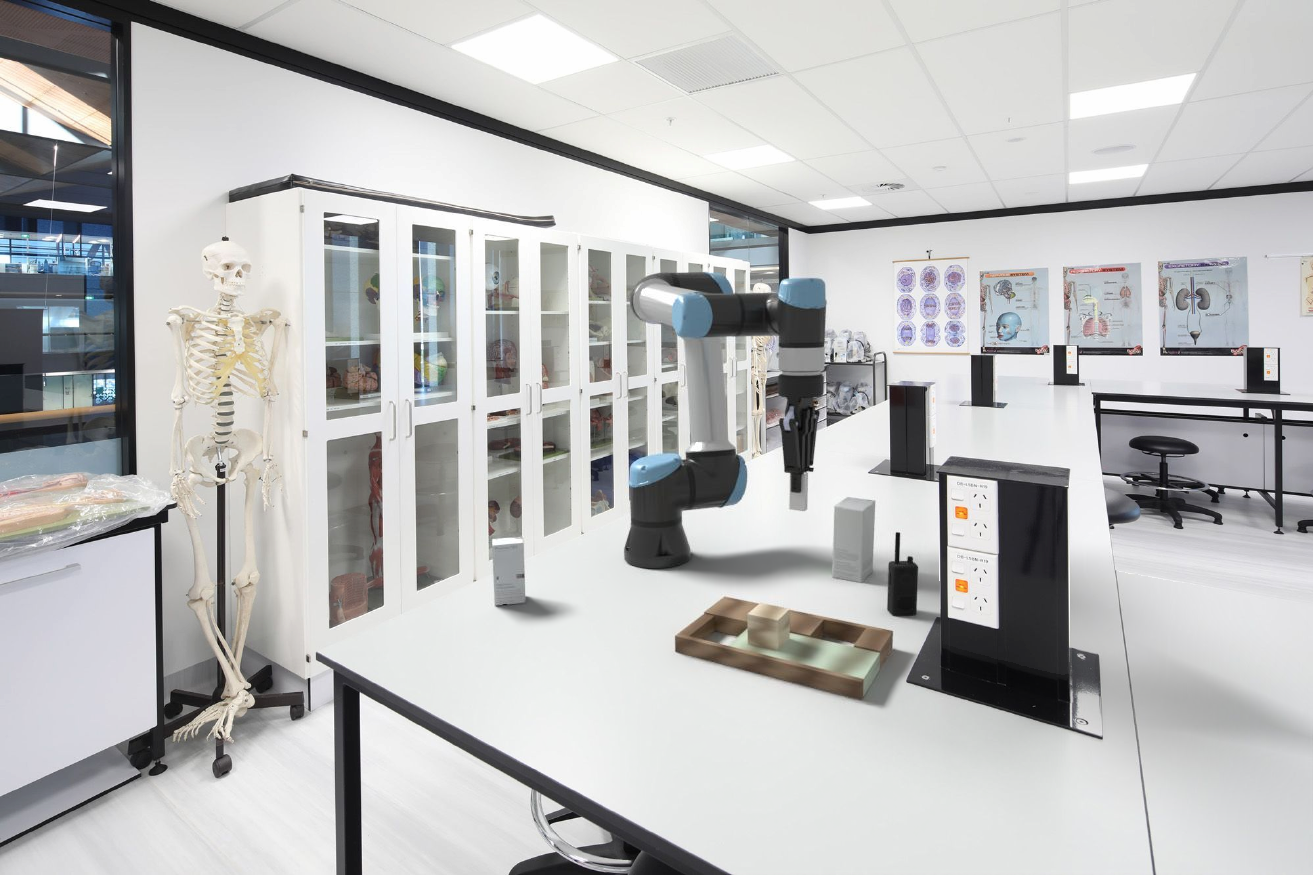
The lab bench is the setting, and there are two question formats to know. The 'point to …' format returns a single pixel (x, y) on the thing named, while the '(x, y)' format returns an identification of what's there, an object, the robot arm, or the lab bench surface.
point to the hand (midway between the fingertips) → (798, 509)
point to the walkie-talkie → (902, 584)
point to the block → (768, 626)
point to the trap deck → (793, 648)
